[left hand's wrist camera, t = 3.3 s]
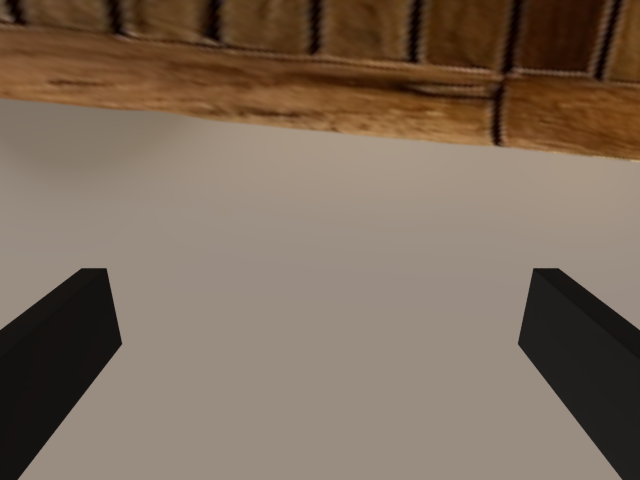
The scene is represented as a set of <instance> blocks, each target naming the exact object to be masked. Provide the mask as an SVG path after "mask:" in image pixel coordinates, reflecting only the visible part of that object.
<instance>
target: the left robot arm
mask: <svg viewBox="0 0 640 480" xmlns="http://www.w3.org/2000/svg"><path fill="white" fill-rule="evenodd" d="M121 345H122V341H121V336H120V331H119V327H118V322H117V317H116V312H115V307H114V302H113V297H112V293H111V288H110V283H109V278H108V273H107V269H106V268H81V269H80V270H79V271H78V272H76V273H75V274H74V275H72V276H71V277H70V278H68V279H67V280H66V281H64V282H63V283H62V284H60V285H59V286H58V287H56V288H55V289H54V290H52V291H51V292H50V293H49V294H47V295H46V296H45V297H43V298H42V299H41V300H39V301H38V302H37V303H35V304H34V305H33V306H31V307H30V308H29V309H27V310H26V311H25V312H24V313H22V314H21V315H20V316H18V317H17V318H16V319H14V320H13V321H12V322H10V323H9V324H8V325H6V326H5V327H4V328H2V329H1V330H0V480H18V479H19V477H20V476H21V475H22V473H23V472H24V471H25V469H26V468H27V467H28V466H29V464H30V463H31V462H32V460H33V459H34V458H35V456H36V455H37V454H38V453H39V451H40V450H41V449H42V447H43V446H44V445H45V443H46V442H47V441H48V440H49V438H50V437H51V436H52V434H53V433H54V432H55V430H56V429H57V428H58V427H59V425H60V424H61V423H62V421H63V420H64V419H65V417H66V416H67V415H68V414H69V412H70V411H71V410H72V408H73V407H74V406H75V405H76V403H77V402H78V401H79V399H80V398H81V397H82V395H83V394H84V393H85V392H86V390H87V389H88V388H89V386H90V385H91V384H92V382H93V381H94V380H95V378H96V377H97V376H98V375H99V373H100V372H101V371H102V369H103V368H104V367H105V365H106V364H107V363H108V362H109V360H110V359H111V358H112V357H113V355H114V354H115V353H116V351H117V350H118V349H119V347H120V346H121ZM518 345H519V346H520V347H521V349H522V350H523V351H524V353H525V354H526V355H527V357H528V358H529V359H530V360H531V362H532V363H533V364H534V366H535V367H536V368H537V369H538V371H539V372H540V373H541V375H542V376H543V377H544V379H545V380H546V381H547V382H548V384H549V385H550V386H551V388H552V389H553V390H554V392H555V393H556V394H557V395H558V397H559V398H560V399H561V401H562V402H563V403H564V405H565V406H566V407H567V408H568V410H569V411H570V412H571V414H572V415H573V416H574V418H575V419H576V420H577V421H578V423H579V424H580V425H581V427H582V428H583V429H584V430H585V432H586V433H587V434H588V436H589V437H590V438H591V440H592V441H593V442H594V443H595V445H596V446H597V447H598V449H599V450H600V451H601V453H602V454H603V455H604V456H605V458H606V459H607V460H608V462H609V463H610V464H611V466H612V467H613V468H614V469H615V471H616V472H617V473H618V475H619V476H620V477H621V478H622V480H640V330H639V329H638V328H636V327H635V326H633V325H632V324H631V323H630V322H628V321H627V320H626V319H624V318H623V317H622V316H620V315H619V314H618V313H616V312H615V311H614V310H612V309H611V308H610V307H609V306H607V305H606V304H605V303H603V302H602V301H601V300H599V299H598V298H597V297H595V296H594V295H593V294H591V293H590V292H589V291H588V290H586V289H585V288H584V287H582V286H581V285H580V284H578V283H577V282H576V281H574V280H573V279H572V278H570V277H569V276H568V275H566V274H565V273H564V272H563V271H561V270H560V269H559V268H534V269H533V273H532V278H531V283H530V288H529V293H528V297H527V302H526V307H525V312H524V317H523V322H522V327H521V331H520V336H519V341H518Z"/></svg>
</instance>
